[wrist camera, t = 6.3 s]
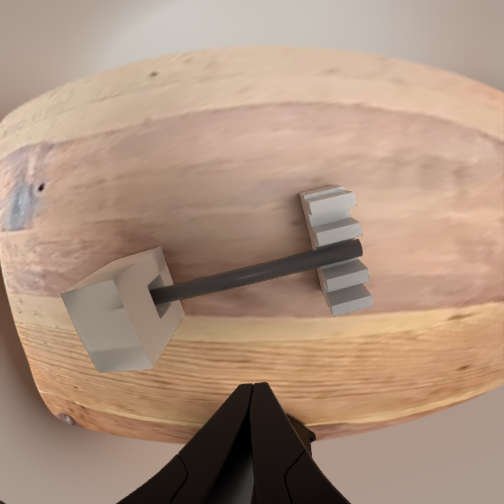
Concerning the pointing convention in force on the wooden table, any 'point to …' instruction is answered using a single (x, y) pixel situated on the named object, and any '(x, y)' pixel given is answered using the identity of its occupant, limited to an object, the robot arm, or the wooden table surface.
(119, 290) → the sleeve
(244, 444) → the robot arm
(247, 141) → the wooden table surface
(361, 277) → the cord rig
